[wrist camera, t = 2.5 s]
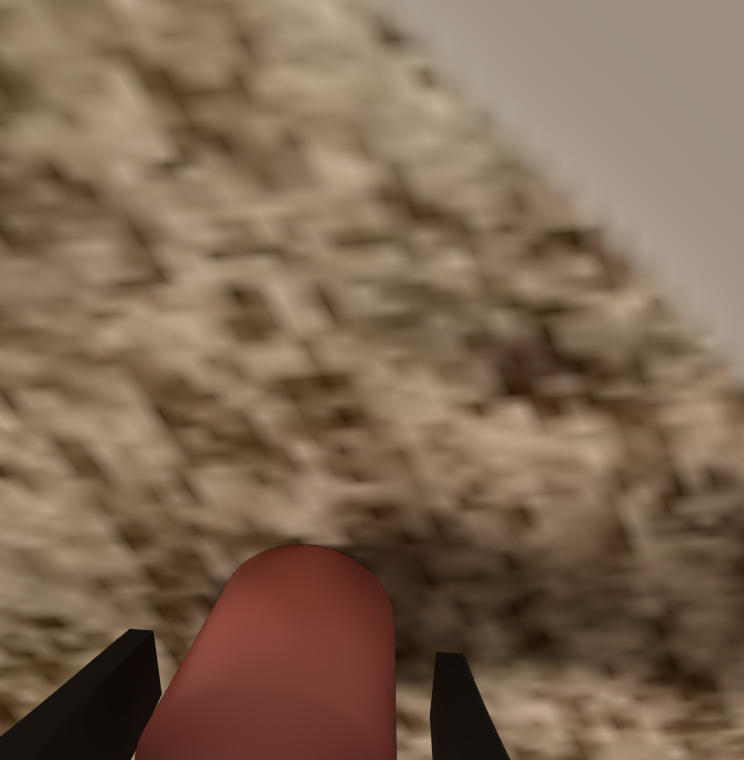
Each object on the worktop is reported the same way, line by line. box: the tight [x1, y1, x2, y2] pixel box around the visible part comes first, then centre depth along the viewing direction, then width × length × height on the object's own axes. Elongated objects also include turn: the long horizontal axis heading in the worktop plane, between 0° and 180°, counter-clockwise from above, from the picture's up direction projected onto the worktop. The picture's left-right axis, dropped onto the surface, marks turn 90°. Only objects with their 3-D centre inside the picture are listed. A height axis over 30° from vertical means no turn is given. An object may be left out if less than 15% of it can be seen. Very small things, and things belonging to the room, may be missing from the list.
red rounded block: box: [135, 545, 397, 760], centre depth 8 cm, size 5×5×4 cm
